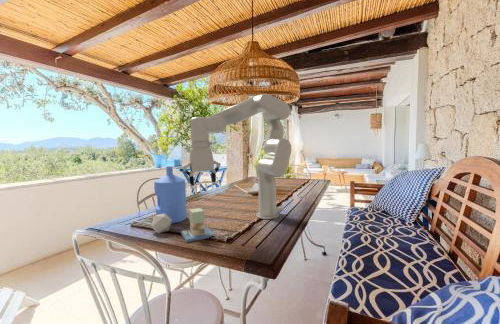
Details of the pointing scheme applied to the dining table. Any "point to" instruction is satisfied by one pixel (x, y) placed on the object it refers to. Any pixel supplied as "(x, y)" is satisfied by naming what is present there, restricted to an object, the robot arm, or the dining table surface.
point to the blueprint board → (189, 237)
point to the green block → (196, 215)
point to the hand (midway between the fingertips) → (203, 183)
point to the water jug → (171, 196)
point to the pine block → (197, 228)
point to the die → (161, 223)
